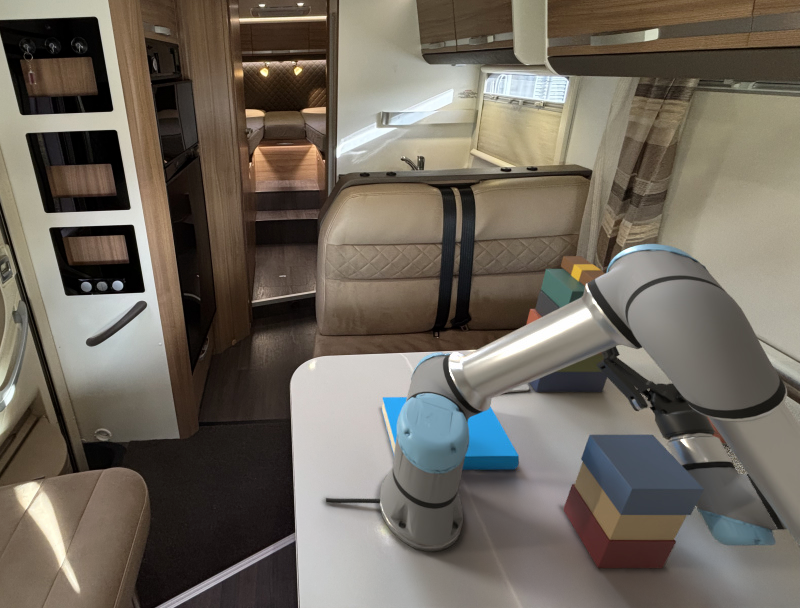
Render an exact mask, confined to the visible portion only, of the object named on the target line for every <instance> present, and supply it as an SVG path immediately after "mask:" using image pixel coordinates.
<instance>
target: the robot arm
mask: <svg viewBox="0 0 800 608" xmlns="http://www.w3.org/2000/svg"><path fill="white" fill-rule="evenodd" d="M713 276H714V275H712V274H711V273H710V271H709V270H708V269H707V268H706V265H703V263H701V262H700V261H698V259H697V258H694V257H693V256H692V255H691V254H689V253H688V252H686V251H684V250H682V249H679V248H678V247H674V246H672V245H666V244H660V243H659V244H658V243H644V244H638V245H634V246H630V247H628V248H626V249H624V250H622V251H620V252H619V253H617V254H616V255H615V256H614V257H612V259H611V260H610V262H609V264H608V266H607V268H606V272H605V274H604V275H602V276H600V277H598V278H596V279H594V280H592V281H590V282H588V283H587V284H586V285H585V289H584V294H583V296H582V297H581V298H579V299H577V300H575V301H573V302H571V303H569V304H567V305H565V306H563V307H561V308H559V309H557V310H555V311H553V312H551V313H549V314H547V315H545V316H543V317H541V318H539V319H537V320H535V321H533V322H531V323H529V324H527V323H526V324H527V325H524V326H522V327H520V328H518V329H515V330H513V331H512V332H509V333H507V334H506V335H503V336H502V337H500V338H498V339H495V340H494V341H492V342H490V343H487V344H485V345H484V346H481V347H479V348H478V349H475V350H474V351H471V352H469V353H468V354H464V353H462V352H459V351H453V352H451V353H450V352H447V353H443V352H442V351H439V352H432V353H430V354H427V355H426V356H425V355H424V357H423V358H421V359H420V360H419V361H418V363H417V364H416V366H415V368H414V370H413V372H412V375H411V377H410V384H409V388H408V392H407V396H406V397H407V399H406V403H405V404H404V405H403V407H402V409H401V412H400V414H399V416H398V420H397V438H396V445H395V453H394V455H393V461H392V468H391V469H390V470H389V472H387V474H386V476H385V477H384V479H383V480H382V483H381V485H380V490H379V495H378V497H379V498H334V497H333V498H329V497H325V503H331V504H379V510H380V513H381V516H382V519H383V522H384V523H385V524H386V526H387V527H388V529H389V530H390V531H391V533H392V534H393V535H394V536H395V537H396V538H397V539H399V540H400V541H401V542H403V543H404V544H406V545H407V546H409V547H412V548H413V549H416V550H419V551H423V552H424V551H425V552H439V551H443V550H446V549H448V548H450V547H451V546H453V544H455V543H456V541H457V540H458V538H459V537H460V535H461V532H462V528H463V524H464V523H463V522H464V511H463V505H462V502H461V501H462V500H461V498H460V494H459V487H460V483H461V478H462V473H463V470H462V468H463V464H464V459H465V456H466V453H467V451H468V447H469V428H468V419H469V418H470V417H472V416H474V415H477V414H479V413H481V412H484V411H486V410H488V409H489V408H490V406H491V404H492V399H494V398H495V397H496V398H497V397H498V396H500V395H503V394H505V393H509V392H508V391H510V390H513V389H515V388H517V387H520V386H522V385H525V384H527V385H528V384H530V383H529V382H532V381H534V380H537V379H539V378H541V377H544V376H546V375H548V374H551V373H553V372H556V371H558V370H560V369H563V368H565V367H567V366H570V365H572V364H575V363H577V362H579V361H582V360H584V359H587V358H589V357H591V356H594V355H596V354H598V353H602V355H603V357H604V359H603V360H602V361H600V362H598V363H597V364H596V365H597V367H598V368H599V369H600V370H601V371H602V372H603V373H604V374H605V376H606V377H607V379H608V380H609V381H610V382H611V383H612V384H613V385H614V386H615V388H617V389H618V391H619V392H620V393H621V394H622V395H623V396H624V397H625V398H626V399H627V400H628V402H629V404H630V405H631V407H632V409H633V410H634V411H636V412H640V411H642V410H644V409H650V410H651V411H652V412H653V414H654V422H655V424H656V426H657V428H658V431H659V432H660V434H661V436H662V438H664V439H665V440H667V443H666V446H667V448H668V451H669V453H670V454H671V455H672V456H673V457H674V458H675V459H676V460H677V461H678V462H679V463H680V464H681V465H682V466H683V467H684V468H685V469H686V471H687V472H688V473H689V474H690V475H691V476H692V477H693V478H694V479H695V480H696V481H697V482H698V483H699V484H700V485H701V486H702V487H703V489H704V491H703V492H702V494H701V496H700V498H699V500H698V502H697V504H696V506H695V507H696V508H697V511H698V512H699V514H700V516H701V517H702V520H704V523H705V525H706V527H707V529H708V531H709V532H710V535H711V536H712V537H713V539H714V540H715V541H716V542H718V543H720V544H722V545H724V546H774V545H776V542H777V540H776V538H775V536H774V534H775V533H774V531H782V530H783V531H784V530H785V531H786V530H787V531H788V532H789V534H790V535H791V537H792V538H793V540H794V541H795V543H796V545H798V547H799V548H800V422H799V421H798V419H797V418H796V416H795V415H794V414H793V412H792V410H791V409H790V408H789V406H788V405H787V403H786V399H787V397H788V388H787V385H786V383H785V382H784V381H783V379H782V378H781V376H780V375H779V374H778V372H777V371H776V368H775V367H774V366H773V363H772V362H771V360H770V358H769V356H768V355H767V353H766V351H765V350H764V348H763V345H762V344H761V343H760V340H759V338H758V335H757V334H756V332H755V331H754V328H753V327H752V324H751V323H750V320H749V319H748V318H747V316H746V314H745V312H744V311H743V309H742V307H741V306H740V305H739V304H738V302H737V301H736V300H735V299H734V298H733V297H732V296H731V295H730V294H729V293H728V292H727V291H726V290H725V289H724V287H722V285H721V284H720V283H719V282H718V280H716V279H715V278H714V277H713ZM617 346H625V347H628V348H631V349H634V350H639V349H642V348H643V350H644V351H645V352H646V354H648V356H649V357H650V358H651V359H652V360H653V362H654V363H655V364H656V365H657V367H658V368H659V369H660V370H661V371H662V372H663V373H664V375H665V376H666V377H667V378H668V380H669V381H670V382H671V383H670V382H669V383H668V384H667V383H666V384H665V383H660V382H658V383H655V382H653V381H652V380H649V379H647V378H646V377H644V376H643V375H641V374H640V373H639V372H637V371H636V370H634V368H632V367H631V366H630V365H628V364H627V363H626V362H624V361H622V359H620V358H619V356H620V355H621V354H620V352H619V350H618V348H617ZM707 417H708V418H709V419H710V420H711V422H712V423H713V425H714V426H715V428H716V429H717V430H718V432H719V433H720V435H721V436H722V437H723V439H724V440H725V442H726V443H727V445H726V446H728V447H729V450H730V451H731V452H732V453H733V455H734V457H736V459H737V460H738V462H739V463H740V465H741V466H742V467H743V469H744V470H745V472H746V473H739V471H738V470H737V469H736V465H734V463H733V461H732V459H731V457H730V456H729V454H728V452H727V450H726V448H725V447H724V444H722V443H721V441H720V439H719V438H717V437H714V436H713V435H714V432H715V431H714V429H713V427H712V425H711V423H710V422H709V420H708V418H707Z"/></svg>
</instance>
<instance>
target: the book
mask: <svg viewBox="0 0 800 608" xmlns="http://www.w3.org/2000/svg"><path fill="white" fill-rule="evenodd" d="M406 399H407V396H383V397H382V404H381V413H382V417H383V421H384V424H385V429H386V431H387V437H388V439H389V443H390V447H391V451H392V454H393V456H394V453H395V445H396V438H397V420H398V416H399V414H400V412H401V409H402V407H403V405H404V404H405V403H406ZM468 428H469V447H468V451H467V453H466V456H465V459H464V464H463V468H462V471H475V470H476V471H477V470H481V471H482V470H485V471H486V470H488V471H489V470H491V471H492V470H493V471H494V470H516V469H517V468H518V467H519V463H520V461H519V459H520V457H519V456H520V455H519V454H518V452H517V450H516V448H515V447H514V445H513V443H512V441H511V440H510V438H509V436H508V434H507V432H506V431H505V429H504V427H503V426H502V424H501V422H500V421H499V418H498V417H497V414H495V412H494V410H493V408H492V406H491V405H490V408H489V409H488V410H486V411H484V412H481V413H479V414H477V415H474V416H472V417H470V418H469V419H468Z"/></svg>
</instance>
